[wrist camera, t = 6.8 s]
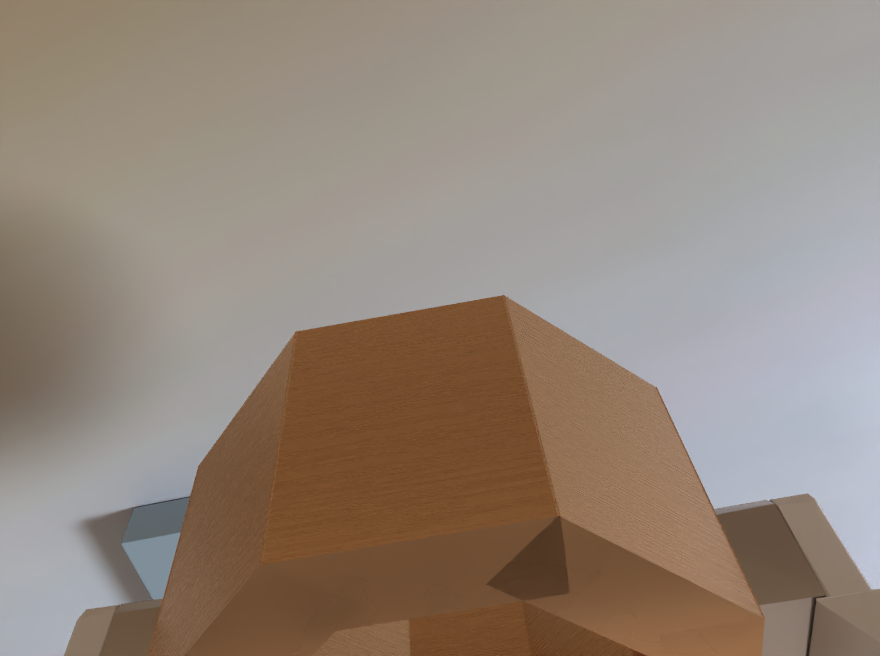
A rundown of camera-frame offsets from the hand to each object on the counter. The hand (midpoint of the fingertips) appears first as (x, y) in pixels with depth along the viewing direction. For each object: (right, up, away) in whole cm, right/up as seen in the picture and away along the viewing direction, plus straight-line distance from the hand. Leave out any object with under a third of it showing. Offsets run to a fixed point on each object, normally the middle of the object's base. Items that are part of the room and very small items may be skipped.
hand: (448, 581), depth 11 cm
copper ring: (0, +1, +1) cm, 2 cm away
